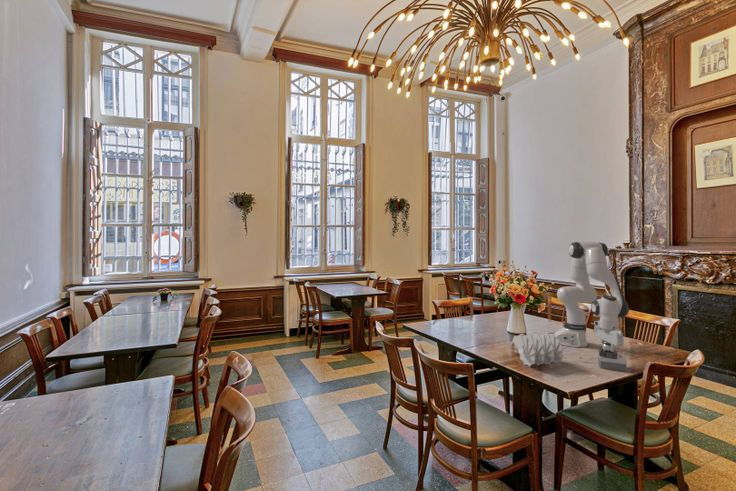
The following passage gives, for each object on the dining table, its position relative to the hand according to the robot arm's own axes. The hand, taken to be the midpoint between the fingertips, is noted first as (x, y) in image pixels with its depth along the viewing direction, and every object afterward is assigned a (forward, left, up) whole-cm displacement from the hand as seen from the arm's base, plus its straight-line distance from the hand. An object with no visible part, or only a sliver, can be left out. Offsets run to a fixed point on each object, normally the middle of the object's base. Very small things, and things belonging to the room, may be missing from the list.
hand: (608, 349), depth 213 cm
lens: (0, 0, -3) cm, 3 cm away
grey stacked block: (+2, 0, -10) cm, 10 cm away
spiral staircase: (-35, -12, -10) cm, 38 cm away
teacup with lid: (-46, +5, -10) cm, 47 cm away
